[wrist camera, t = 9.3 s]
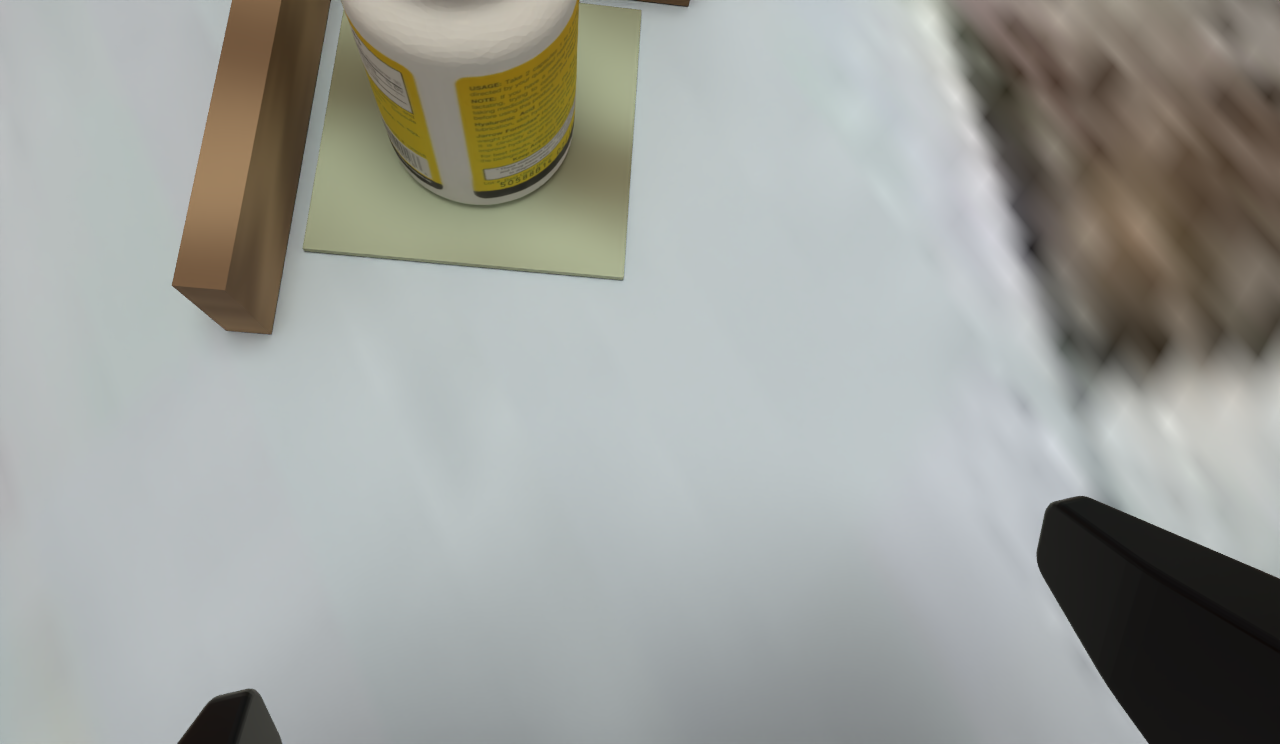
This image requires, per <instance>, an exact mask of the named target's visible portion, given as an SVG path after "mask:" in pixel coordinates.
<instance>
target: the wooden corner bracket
mask: <svg viewBox="0 0 1280 744" xmlns="http://www.w3.org/2000/svg"><path fill="white" fill-rule="evenodd" d="M639 1H647V2H656V3H664V4H673V5H681V6H688V5H689V1H690V0H639ZM329 6H330V0H232V4H231V8H230V13H229V18H228V23H227V27H226V32H225V37H224V42H223V46H222V51H221V56H220V60H219V65H218V70H217V75H216V79H215V84H214V89H213V93H212V98H211V103H210V108H209V112H208V117H207V122H206V127H205V131H204V136H203V141H202V145H201V150H200V155H199V160H198V164H197V169H196V174H195V179H194V183H193V188H192V193H191V197H190V202H189V207H188V212H187V216H186V221H185V226H184V230H183V235H182V240H181V245H180V249H179V254H178V259H177V264H176V268H175V273H174V278H173V282H172V286H173V287H174V288H175V289H177V290H178V291H179V292H180V293H181V294H183V295H184V296H185V297H186V298H187V299H189V300H190V301H191V302H192V303H193V304H195V305H196V306H197V307H198V308H199V309H201V310H202V311H203V312H204V313H205V314H207V315H208V316H209V317H210V318H212V319H213V320H214V321H215V322H216V323H218V324H219V325H220V326H221V327H222V328H224V329H225V330H226V331H238V332H250V333H262V334H271V333H272V328H273V322H274V316H275V311H276V305H277V299H278V294H279V288H280V282H281V277H282V271H283V266H284V260H285V254H286V249H287V243H288V237H289V232H290V226H291V220H292V215H293V209H294V203H295V198H296V192H297V186H298V181H299V175H300V169H301V164H302V158H303V153H304V147H305V141H306V136H307V130H308V124H309V119H310V113H311V107H312V102H313V96H314V90H315V85H316V79H317V73H318V68H319V62H320V57H321V51H322V45H323V40H324V34H325V28H326V23H327V17H328V11H329ZM640 23H641V10H636V9H628V8H619V7H611V6H602V5H593V4H585V3H579V17H578V44H577V78H576V102H575V118H574V128H573V135H572V140H571V144H570V147H569V149H568V152H567V155H566V157H565V158H564V160H563V162H562V164H561V165H560V167H559V168H558V169H557V171H556V172H555V173H554V174H553V175H552V177H551V178H550V179H549V180H547V181H546V182H545V183H544V184H543V185H542V186H540V187H539V188H537V189H536V190H535V191H533V192H531V193H529V194H527V195H525V196H523V197H521V198H518V199H515V200H512V201H508V202H504V203H499V204H491V205H474V204H465V203H460V202H456V201H453V200H449V199H447V198H444V197H442V196H440V195H437V194H435V193H433V192H432V191H430V190H429V189H427V188H425V187H424V186H423V185H421V184H420V183H419V182H418V181H417V180H415V179H414V178H413V176H412V175H411V174H410V173H409V172H408V171H407V170H406V169H405V167H404V166H403V165H402V163H401V162H400V160H399V158H398V156H397V154H396V152H395V150H394V148H393V146H392V144H391V142H390V139H389V136H388V133H387V131H386V128H385V125H384V122H383V120H382V116H381V114H380V111H379V108H378V105H377V102H376V99H375V96H374V93H373V90H372V88H371V85H370V82H369V79H368V76H367V73H366V70H365V67H364V64H363V62H362V59H361V56H360V53H359V50H358V47H357V45H356V42H355V39H354V36H353V33H352V31H351V27H350V24H349V22H348V19H347V16H346V14H345V11H343V16H342V22H341V28H340V34H339V40H338V45H337V51H336V57H335V63H334V69H333V75H332V80H331V86H330V92H329V98H328V104H327V109H326V115H325V121H324V127H323V133H322V139H321V144H320V150H319V156H318V162H317V168H316V173H315V179H314V185H313V191H312V197H311V203H310V208H309V214H308V220H307V226H306V232H305V238H304V243H303V250H304V251H309V252H320V253H331V254H342V255H353V256H364V257H375V258H386V259H397V260H408V261H419V262H430V263H441V264H452V265H463V266H473V267H484V268H495V269H506V270H517V271H528V272H539V273H550V274H561V275H572V276H583V277H594V278H605V279H616V280H623V277H624V262H625V247H626V232H627V217H628V203H629V188H630V173H631V158H632V143H633V128H634V113H635V98H636V83H637V68H638V53H639V38H640Z"/></svg>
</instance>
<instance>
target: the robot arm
mask: <svg viewBox="0 0 1280 744" xmlns="http://www.w3.org/2000/svg"><path fill="white" fill-rule="evenodd" d="M1037 563H1038V567H1039V570H1040V572H1041V574H1042V576H1043V578H1044V580H1045V581H1046V583H1047V585H1048V586H1049V588H1050V590H1051V592H1052V593H1053V595H1054V597H1055V598H1056V600H1057V602H1058V603H1059V605H1060V607H1061V609H1062V610H1063V612H1064V614H1065V615H1066V617H1067V619H1068V621H1069V622H1070V624H1071V626H1072V627H1073V629H1074V631H1075V633H1076V634H1077V636H1078V638H1079V639H1080V641H1081V643H1082V645H1083V646H1084V648H1085V650H1086V651H1087V653H1088V655H1089V656H1090V658H1091V660H1092V662H1093V663H1094V665H1095V667H1096V668H1097V670H1098V672H1099V673H1100V675H1101V676H1102V678H1103V680H1104V681H1105V683H1106V684H1107V686H1108V687H1109V689H1110V690H1111V692H1112V693H1113V695H1114V696H1115V698H1116V699H1117V700H1118V702H1119V703H1120V705H1121V706H1122V708H1123V709H1124V710H1125V712H1126V713H1127V714H1128V716H1129V717H1130V719H1131V720H1132V721H1133V723H1134V724H1135V725H1136V727H1137V728H1138V730H1139V731H1140V732H1141V734H1142V735H1143V736H1144V738H1145V739H1146V741H1147V742H1148V743H1149V744H1280V579H1279V578H1277V577H1275V576H1272V575H1270V574H1268V573H1265V572H1263V571H1261V570H1258V569H1256V568H1254V567H1251V566H1249V565H1246V564H1244V563H1242V562H1239V561H1237V560H1235V559H1232V558H1230V557H1228V556H1225V555H1223V554H1221V553H1218V552H1216V551H1214V550H1211V549H1209V548H1207V547H1204V546H1202V545H1200V544H1197V543H1195V542H1192V541H1190V540H1188V539H1185V538H1183V537H1181V536H1178V535H1176V534H1174V533H1171V532H1169V531H1167V530H1164V529H1162V528H1160V527H1157V526H1155V525H1153V524H1150V523H1148V522H1145V521H1143V520H1141V519H1138V518H1136V517H1134V516H1131V515H1129V514H1127V513H1124V512H1122V511H1120V510H1117V509H1115V508H1113V507H1110V506H1108V505H1106V504H1103V503H1101V502H1099V501H1096V500H1094V499H1091V498H1089V497H1085V496H1076V497H1072V498H1067V499H1063V500H1059V501H1054V502H1052V503H1050V505H1049V506H1048V507H1047V508H1046V511H1045V514H1044V519H1043V524H1042V529H1041V533H1040V538H1039V543H1038V548H1037ZM177 744H282V741H281V738H280V735H279V733H278V731H277V729H276V727H275V725H274V723H273V720H272V718H271V716H270V714H269V712H268V710H267V708H266V706H265V704H264V701H263V699H262V697H261V696H260V694H259V693H258V692H257V691H256V690H254V689H245V690H240V691H236V692H232V693H227V694H223V695H219V696H216V697H214V698H213V699H212V700H211V701H209V702H208V703H207V705H206V706H205V707H204V708H203V710H202V711H201V712H200V714H199V715H198V717H197V718H196V719H195V721H194V722H193V723H192V725H191V726H190V727H189V729H188V730H187V731H186V733H185V734H184V735H183V737H182V738H181V739H180V741H179V742H178V743H177Z"/></svg>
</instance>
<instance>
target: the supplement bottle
mask: <svg viewBox="0 0 1280 744" xmlns="http://www.w3.org/2000/svg"><path fill="white" fill-rule="evenodd" d="M341 2H342V5H343V8H344V11H345V14H346V16H347V19H348V22H349V24H350V27H351V31H352V33H353V36H354V39H355V42H356V45H357V47H358V50H359V53H360V56H361V59H362V62H363V64H364V67H365V70H366V73H367V76H368V79H369V82H370V85H371V88H372V90H373V93H374V96H375V99H376V102H377V105H378V108H379V111H380V114H381V116H382V120H383V122H384V125H385V128H386V131H387V133H388V136H389V139H390V142H391V144H392V146H393V148H394V150H395V152H396V154H397V156H398V158H399V160H400V162H401V163H402V165H403V166H404V167H405V169H406V170H407V171H408V172H409V173H410V174H411V175H412V176H413V178H414V179H415V180H417V181H418V182H419V183H420V184H421V185H423V186H424V187H425V188H427V189H429V190H430V191H432V192H433V193H435V194H437V195H440V196H442V197H444V198H447V199H449V200H453V201H456V202H460V203H465V204H474V205H491V204H499V203H504V202H508V201H512V200H515V199H518V198H521V197H523V196H525V195H527V194H529V193H531V192H533V191H535V190H536V189H537V188H539V187H540V186H542V185H543V184H544V183H545V182H546V181H547V180H549V179H550V178H551V177H552V175H553V174H554V173H555V172H556V171H557V169H558V168H559V167H560V165H561V164H562V162H563V160H564V158H565V157H566V155H567V152H568V149H569V147H570V144H571V140H572V135H573V128H574V118H575V102H576V78H577V44H578V17H579V0H341Z"/></svg>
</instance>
